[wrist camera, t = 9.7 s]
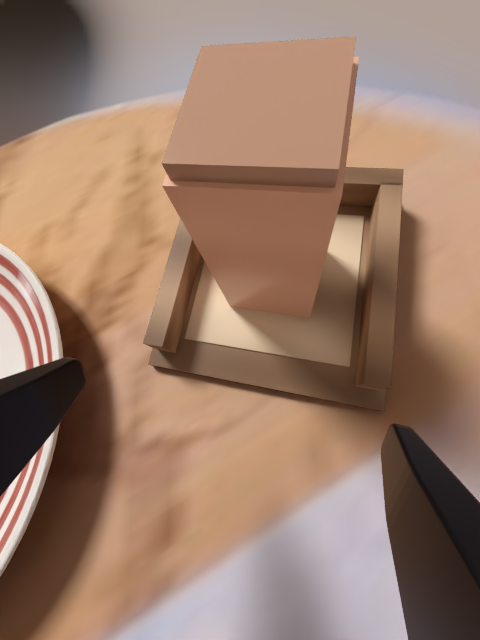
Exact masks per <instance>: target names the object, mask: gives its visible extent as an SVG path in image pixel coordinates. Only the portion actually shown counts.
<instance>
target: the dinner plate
mask: <svg viewBox="0 0 480 640" xmlns="http://www.w3.org/2000/svg"><path fill="white" fill-rule="evenodd" d="M61 358H63V349H62V341H61V335H60V329H59V325H58V321H57V318H56V314H55V311H54V308H53V306H52V303H51V301H50V298H49V296H48V294H47V292H46V290H45V288H44V287H43V285H42V283H41V282H40V280H39V279H38V277H37V276H36V274H35V273H34V272H33V271H32V269H31V268H30V267H29V266H28V265H27V264H26V263H25V262H24V261H23V260H22V259H21V258H20V257H19V256H18V255H17V254H16V253H14V252H13V251H11V250H10V249H8V248H7V247H6V246H4V245H2V244H0V379H2V378H5V377H8V376H11V375H14V374H17V373H19V372H22V371H25V370H28V369H31V368H34V367H37V366H40V365H43V364H46V363H49V362H52V361H55V360H58V359H61ZM59 425H60V423H59ZM59 425H58V426H57V428H56V429H55V430H54V432H53V433H52V434H51V436H50V437H49V438H48V439H47V441H46V442H45V443H44V444H43V445H42V447H41V448H40V449H39V450H38V452H37V453H36V454H35V455H34V456H33V458H32V459H31V460H30V461H29V463H28V464H27V465H26V466H25V467H24V469H23V470H22V471H21V472H20V474H19V475H18V476H17V477H16V478H15V480H14V481H13V482H12V483H11V485H10V486H9V487H8V488H7V489H6V491H5V492H4V493H3V494H2V496H1V497H0V577H1V575H2V573H3V572H4V570H5V569H6V567H7V565H8V563H9V562H10V560H11V558H12V556H13V554H14V552H15V550H16V548H17V546H18V545H19V543H20V541H21V539H22V537H23V535H24V533H25V531H26V529H27V526H28V524H29V522H30V520H31V517H32V515H33V513H34V510H35V508H36V506H37V503H38V500H39V498H40V495H41V492H42V490H43V487H44V484H45V481H46V478H47V474H48V471H49V468H50V465H51V461H52V457H53V454H54V450H55V445H56V440H57V435H58V430H59Z"/></svg>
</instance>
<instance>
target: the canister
mask: <svg viewBox="0 0 480 640" xmlns="http://www.w3.org/2000/svg"><path fill="white" fill-rule="evenodd" d="M355 41H356V37H341V38H325V39H309V40H292V41H277V42H259V43H243V44H227V45H210V46H201V49H200V52H199V55H198V58H197V61H196V64H195V66H194V70H193V72H192V75H191V78H190V81H189V84H188V87H187V90H186V93H185V96H184V99H183V102H182V105H181V108H180V111H179V114H178V117H177V120H176V123H175V126H174V129H173V131H172V134H171V137H170V140H169V143H168V146H167V149H166V152H165V155H164V158H163V161H162V165H163V167H164V169H165V171H166V176H165V179H164V182H163V185H162V186H163V188H164V190H165V191H166V193H167V195H168V197H169V199H170V200H171V202H172V204H173V206H174V207H175V209H176V211H177V213H178V215H179V216H180V218H181V220H182V222H183V223H184V225H185V227H186V229H187V231H188V232H189V234H190V236H191V238H192V239H193V241H194V243H195V245H196V247H197V248H198V250H199V252H200V254H201V256H202V257H203V259H204V261H205V263H206V264H207V266H208V268H209V270H210V272H211V273H212V275H213V277H214V279H215V280H216V282H217V284H218V286H219V288H220V289H221V291H222V293H223V295H224V296H225V298H226V300H227V302H228V304H229V305H230V307H235V308H242V309H249V310H256V311H263V312H271V313H278V314H285V315H292V316H299V317H306V318H310V315H311V312H312V308H313V304H314V300H315V296H316V293H317V289H318V285H319V281H320V277H321V274H322V270H323V266H324V262H325V258H326V255H327V251H328V247H329V243H330V239H331V235H332V232H333V228H334V224H335V220H336V216H337V213H338V209H339V205H340V201H341V197H342V192H343V184H344V176H345V168H346V160H347V151H348V143H349V135H350V127H351V119H352V110H353V102H354V94H355V86H356V77H357V69H358V61H359V57H354V49H355Z"/></svg>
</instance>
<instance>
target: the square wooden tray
mask: <svg viewBox="0 0 480 640" xmlns="http://www.w3.org/2000/svg"><path fill="white" fill-rule="evenodd" d="M402 187H403V169H386V168H354V167H346V168H345V176H344V184H343V192H342V197H341V201H340V205H339V209H338V213H337V216H336V220H335V224H334V228H333V232H332V235H331V239H330V243H329V247H328V251H327V255H326V258H325V262H324V266H323V270H322V274H321V277H320V281H319V285H318V289H317V293H316V296H315V300H314V304H313V308H312V312H311V315H310V318H306V317H299V316H292V315H285V314H278V313H271V312H263V311H256V310H249V309H242V308H235V307H230V305H229V304H228V302H227V300H226V298H225V296H224V295H223V293H222V291H221V289H220V288H219V286H218V284H217V282H216V280H215V279H214V277H213V275H212V273H211V272H210V270H209V268H208V266H207V264H206V263H205V261H204V259H203V257H202V256H201V254H200V252H199V250H198V248H197V247H196V245H195V243H194V241H193V239H192V238H191V236H190V234H189V232H188V231H187V229H186V227H185V225H184V223H183V222H182V220H181V218H180V221H179V225H178V228H177V231H176V235H175V238H174V241H173V245H172V248H171V251H170V255H169V258H168V261H167V265H166V268H165V272H164V275H163V278H162V282H161V285H160V288H159V292H158V295H157V298H156V302H155V305H154V308H153V312H152V315H151V319H150V322H149V325H148V329H147V332H146V335H145V339H144V342H143V343H144V344H146V345H148V346H150V347H153V349H152V353H151V356H150V360H149V363H148V364H149V365H152V366H157V367H162V368H167V369H172V370H177V371H182V372H187V373H192V374H198V375H203V376H208V377H213V378H218V379H223V380H228V381H233V382H238V383H243V384H248V385H253V386H258V387H263V388H268V389H273V390H278V391H283V392H288V393H293V394H298V395H304V396H309V397H314V398H319V399H324V400H329V401H334V402H339V403H344V404H349V405H354V406H359V407H364V408H369V409H374V410H379V411H385V404H386V389H390V388H391V385H392V367H393V349H394V331H395V313H396V295H397V277H398V259H399V241H400V223H401V205H402Z"/></svg>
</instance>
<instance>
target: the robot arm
mask: <svg viewBox="0 0 480 640" xmlns="http://www.w3.org/2000/svg"><path fill="white" fill-rule="evenodd" d="M85 384H86V378H85V374H84V371H83V368H82V364H81V362H80V361H79V360H78V359H75V358H70V357H64V358H61V359H58V360H55V361H52V362H49V363H46V364H43V365H40V366H37V367H34V368H31V369H28V370H25V371H22V372H19V373H17V374H14V375H11V376H8V377H5V378H2V379H0V497H1V496H2V494H3V493H4V492H5V491H6V489H7V488H8V487H9V486H10V485H11V483H12V482H13V481H14V480H15V478H16V477H17V476H18V475H19V474H20V472H21V471H22V470H23V469H24V467H25V466H26V465H27V464H28V463H29V461H30V460H31V459H32V458H33V456H34V455H35V454H36V453H37V452H38V450H39V449H40V448H41V447H42V445H43V444H44V443H45V442H46V441H47V439H48V438H49V437H50V436H51V434H52V433H53V432H54V430H55V429H56V428H57V426H58V425H59V423H60V422H61V421H62V419H63V418H64V416H65V415H66V413H67V412H68V410H69V409H70V407H71V406H72V404H73V403H74V402H75V400H76V399H77V397H78V396H79V394H80V393H81V391H82V390H83V388H84V387H85ZM381 461H382V474H383V487H384V500H385V512H386V521H387V527H388V533H389V538H390V544H391V549H392V554H393V560H394V565H395V570H396V576H397V581H398V587H399V592H400V597H401V603H402V608H403V613H404V619H405V624H406V629H407V635H408V640H480V502H479V501H478V500H477V499H476V498H475V497H474V496H473V495H472V494H471V492H470V491H469V490H468V489H467V488H466V487H465V486H464V485H463V484H462V483H461V482H460V480H459V479H458V478H457V477H456V476H455V475H454V474H453V473H452V472H451V471H450V469H449V468H448V467H447V466H446V465H445V464H444V463H443V462H442V461H441V460H440V459H439V457H438V456H437V455H436V454H435V453H434V452H433V451H432V450H431V449H430V448H429V446H428V445H427V444H426V443H425V442H424V441H423V440H422V439H421V438H420V437H419V436H418V434H417V433H416V432H415V431H414V430H413V429H412V428H410V427H408V426H404V425H399V424H392V425H391V426H390V427H389V429H388V432H387V434H386V437H385V439H384V442H383V444H382V448H381Z"/></svg>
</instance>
